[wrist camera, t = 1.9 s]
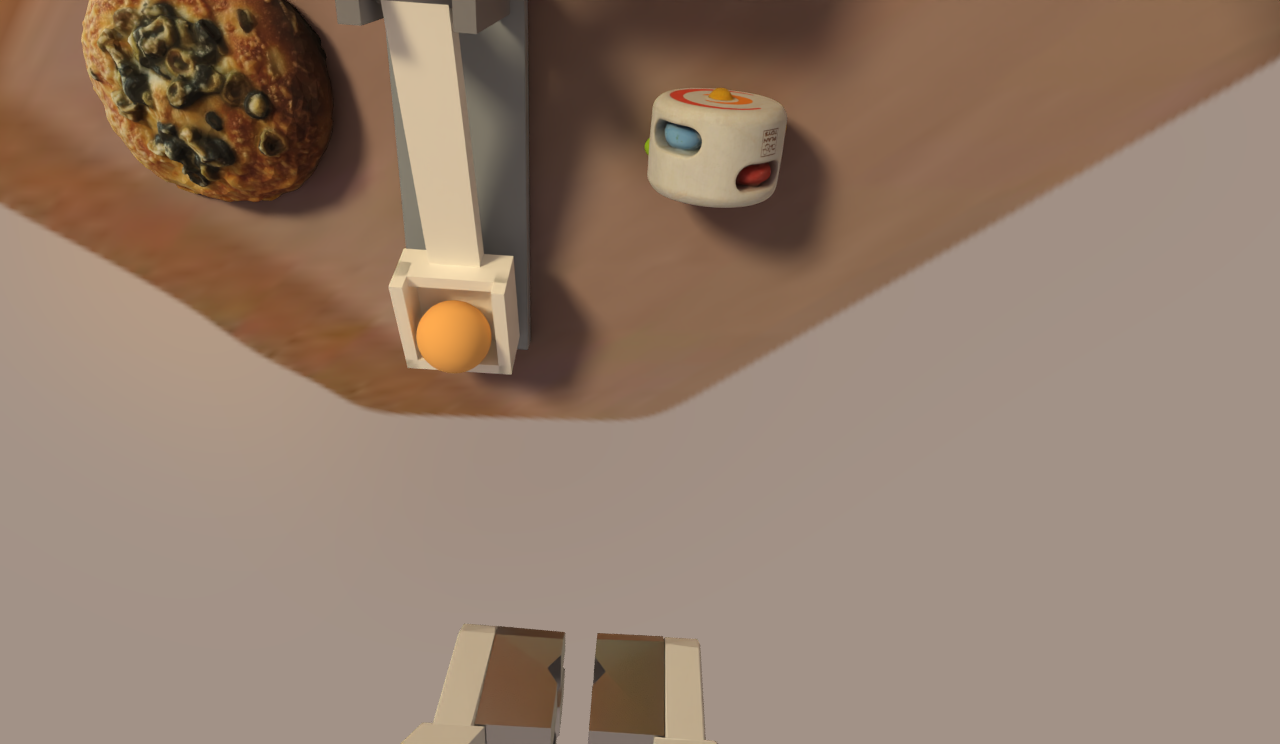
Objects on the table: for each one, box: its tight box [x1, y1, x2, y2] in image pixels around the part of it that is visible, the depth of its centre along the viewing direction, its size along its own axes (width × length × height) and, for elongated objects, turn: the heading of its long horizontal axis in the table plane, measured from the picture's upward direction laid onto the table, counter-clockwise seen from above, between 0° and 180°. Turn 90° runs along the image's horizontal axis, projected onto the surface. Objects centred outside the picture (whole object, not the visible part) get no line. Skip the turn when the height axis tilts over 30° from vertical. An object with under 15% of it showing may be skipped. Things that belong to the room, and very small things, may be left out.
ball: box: [416, 300, 491, 373], centre depth 37 cm, size 4×4×4 cm
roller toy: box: [644, 88, 787, 208], centre depth 33 cm, size 4×6×6 cm
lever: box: [375, 0, 520, 375], centre depth 30 cm, size 26×13×3 cm, turn 176°
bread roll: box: [81, 0, 334, 202], centre depth 34 cm, size 11×11×5 cm
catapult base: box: [335, 0, 530, 350], centre depth 33 cm, size 20×6×8 cm, turn 176°
